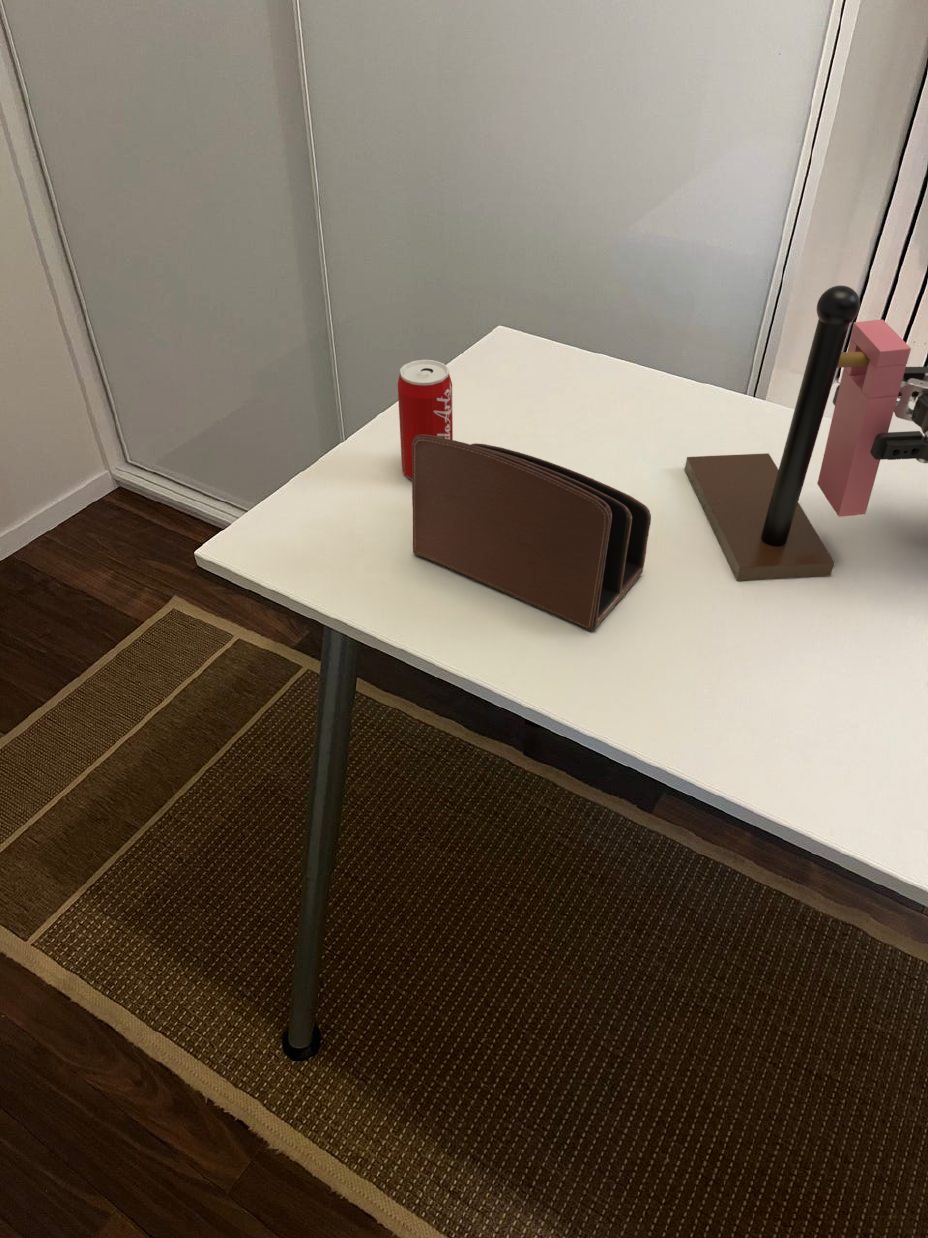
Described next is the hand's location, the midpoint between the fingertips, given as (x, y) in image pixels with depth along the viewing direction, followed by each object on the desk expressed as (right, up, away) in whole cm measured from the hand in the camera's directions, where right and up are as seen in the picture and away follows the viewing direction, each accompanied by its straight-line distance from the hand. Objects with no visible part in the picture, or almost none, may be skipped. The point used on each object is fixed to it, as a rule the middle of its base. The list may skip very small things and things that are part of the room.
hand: (854, 420), depth 82 cm
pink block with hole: (+1, -6, +6) cm, 8 cm away
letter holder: (-28, -12, +8) cm, 32 cm away
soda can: (-38, -1, +20) cm, 43 cm away
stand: (-4, -7, +13) cm, 16 cm away
